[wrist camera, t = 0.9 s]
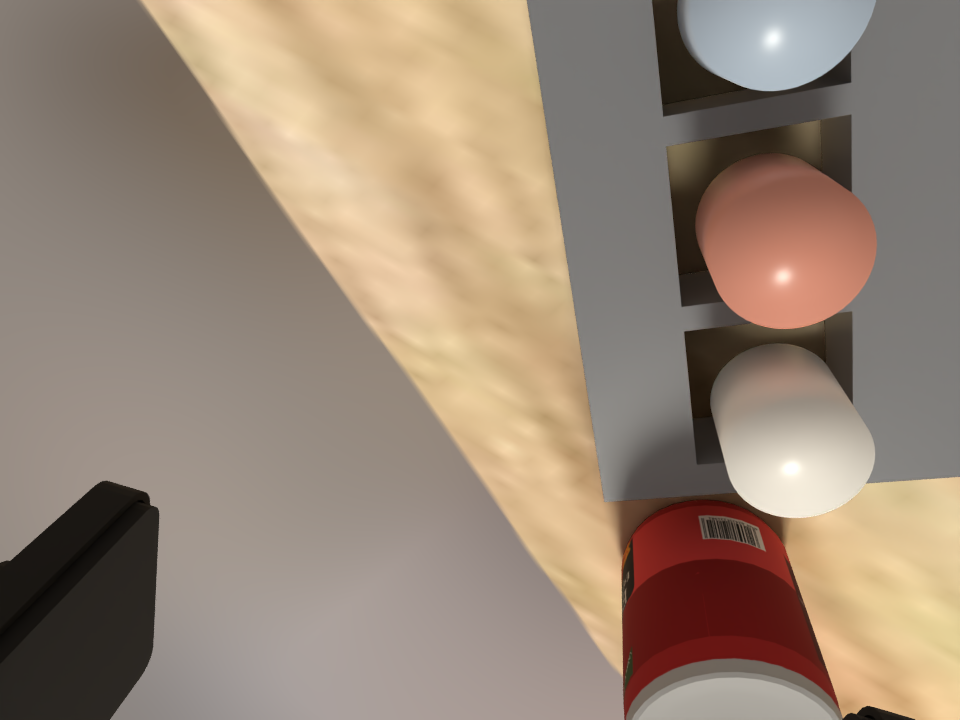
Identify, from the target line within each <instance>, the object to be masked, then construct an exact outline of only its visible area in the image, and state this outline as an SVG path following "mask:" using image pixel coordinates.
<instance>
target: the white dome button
mask: <svg viewBox="0 0 960 720" xmlns="http://www.w3.org/2000/svg"><path fill="white" fill-rule="evenodd" d="M710 406H711V412H712V415H713V419H714V423H715V427H716V430H717V434H718V438H719V442H720V445H721V449H722V453H723V457H724V460H725V464H726V468H727V472H728V475H729V478H730V481H731V483H732V485H733V487H734V488H735V490H736V491H737V493H738V494H739V495H740V496H741V497H742V498H743V499H744V500H745V501H746V502H748V503H749V504H750V505H752V506H753V507H755V508H757V509H758V510H761V511H763V512H765V513H768V514H771V515H775V516H780V517H787V518H805V517H812V516H817V515H821V514H824V513H827V512H830V511H832V510H834V509H837V508H838V507H840V506H842V505H844V504H845V503H847V502H848V501H849V500H851V499H852V498H853V497H854V496H855V495H856V494H857V493H858V492H859V491H860V490H861V489H862V488H863V487H864V485H865V484H866V482H867V480H868V479H869V477H870V475H871V472H872V470H873V466H874V462H875V446H874V442H873V438H872V436H871V433H870V431H869V429H868V428H867V426H866V425H865V423H864V422H863V420H862V418H861V417H860V415H859V414H858V412H857V411H856V409H855V408H854V406H853V405H852V403H851V401H850V400H849V398H848V397H847V395H846V394H845V392H844V391H843V389H842V387H841V386H840V384H839V383H838V381H837V380H836V378H835V377H834V375H833V374H832V372H831V370H830V369H829V367H828V366H827V365H826V363H825V362H824V361H823V360H822V359H821V358H819V357H818V356H817V355H816V354H814V353H812V352H811V351H809V350H807V349H804V348H802V347H799V346H796V345H790V344H781V343H775V344H765V345H760V346H757V347H753V348H751V349H748V350H746V351H744V352H742V353H740V354H739V355H737V356H736V357H734V358H733V359H732V360H730V361H729V362H728V363H727V364H726V365H725V366H724V367H723V369H722V370H721V371H720V372H719V374H718V376H717V377H716V379H715V381H714V384H713V387H712V390H711V396H710Z"/></svg>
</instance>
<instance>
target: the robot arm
mask: <svg viewBox="0 0 960 720" xmlns="http://www.w3.org/2000/svg"><path fill="white" fill-rule="evenodd" d="M158 531H159V510H158V508H157V507H154V506H151V505H150V498H149V496H148V494H147V493H146V492H143V491H140V490H136V489H133V488H130V487H126V486H123V485H119V484H116V483H113V482H109V481H102V482H100V483H99V484H97V485H95V486H94V487H93V488H92V489H91V490H90V491H89V492H87V493H86V494H85V495H84V496H83V497H82V498H81V499H80V500H78V501H77V502H76V503H75V504H74V505H73V506H72V507H71V508H69V509H68V510H67V511H66V512H65V513H64V514H63V515H61V516H60V517H59V518H58V519H57V520H56V521H55V522H54V523H52V524H51V525H50V526H49V527H48V528H47V529H46V530H45V531H43V532H42V533H41V534H40V535H39V536H38V537H37V538H36V539H35V540H33V541H32V542H31V543H30V544H29V545H28V546H27V547H25V549H23V550H22V551H21V552H20V553H19V554H18V555H16V556H15V557H14V558H13V559H12V560H11V561H4V562H1V563H0V720H110V719H111V717H112V716H113V714H114V713H115V712H116V710H117V709H118V707H119V706H120V705H121V703H122V702H123V701H124V699H125V698H126V697H127V695H128V694H129V692H130V691H131V690H132V688H133V687H134V685H135V684H136V683H137V681H138V680H139V679H140V677H141V676H142V674H143V672H144V671H145V669H146V667H147V665H148V662H149V660H150V658H151V654H152V650H153V638H154V617H155V595H156V574H157V552H158ZM843 720H915V719H912V718H909V717H905V716H902V715H898V714H895V713H892V712H888V711H885V710H882V709H878V708H875V707H870V706H866V707H864V708H862V709H861V710H860V711H859V712H858V713H857V714H853V713H850V714H847V715H846V716H845V717H844V718H843Z"/></svg>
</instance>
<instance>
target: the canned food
mask: <svg viewBox="0 0 960 720" xmlns="http://www.w3.org/2000/svg"><path fill="white" fill-rule="evenodd" d="M622 631H623V696H624V715H625V716H624V718H625V720H843V718H842V715H841V712H840V709H839V705H838V701H837V698H836V695H835V692H834V689H833V686H832V683H831V680H830V677H829V674H828V671H827V669H826V666H825V663H824V660H823V657H822V654H821V651H820V648H819V645H818V643H817V640H816V637H815V634H814V631H813V628H812V625H811V622H810V619H809V616H808V614H807V611H806V608H805V605H804V602H803V599H802V596H801V593H800V590H799V587H798V585H797V582H796V579H795V576H794V573H793V570H792V567H791V564H790V561H789V559H788V556H787V553H786V550H785V547H784V545H783V544H782V542H781V540H780V539H779V537H778V536H777V535H776V534H775V532H774V531H773V530H772V529H771V528H770V527H769V526H768V525H767V524H766V523H765V522H763V521H762V520H761V519H760V518H759V517H758V516H756V515H755V514H753V513H752V512H750V511H748V510H746V509H744V508H741V507H739V506H737V505H734V504H730V503H726V502H721V501H713V500H695V501H686V502H682V503H678V504H673V505H671V506H668V507H666V508H664V509H661V510H659V511H657V512H656V513H654V514H653V515H651V516H650V517H648V518H647V519H646V520H645V521H644V522H643V523H642V524H641V525H640V526H638V528H637V529H636V531H635V532H634V534H633V535H632V537H631V539H630V541H629V543H628V545H627V547H626V550H625V553H624V555H623V560H622Z"/></svg>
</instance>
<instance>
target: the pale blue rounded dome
mask: <svg viewBox="0 0 960 720" xmlns="http://www.w3.org/2000/svg"><path fill="white" fill-rule="evenodd" d="M875 3H876V0H678V3H677V20H678V27H679V31H680V34H681V38H682V40H683V42H684V45H685V47H686V48H687V50H688V52H689V53H690V55H691V56H692V57H693V58H694V59H695V61H696V62H697V63H699V64H700V65H701V66H702V67H703V68H705V69H706V70H708V71H709V72H711V73H713V74H715V75H717V76H719V77H722V78H724V79H726V80H728V81H731V82H733V83H735V84H737V85H740V86H742V87H746V88H749V89H754V90H760V91H779V90H786V89H790V88H795V87H798V86H801V85H803V84H806V83H809V82H811V81H813V80H815V79H817V78H818V77H820V76H822V75H823V74H825V73H826V72H828V71H829V70H831V69H832V68H833V67H834V66H836V65H837V64H838V63H839V62H840V61H841V60H842V59H843V58H844V57H845V56H846V55H847V54H848V53H849V52H850V51H851V50H852V48H853V47H854V46H855V44H856V43H857V42H858V40H859V39H860V37H861V35H862V34H863V32H864V30H865V29H866V27H867V25H868V22H869V20H870V18H871V16H872V13H873V9H874V6H875Z"/></svg>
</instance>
